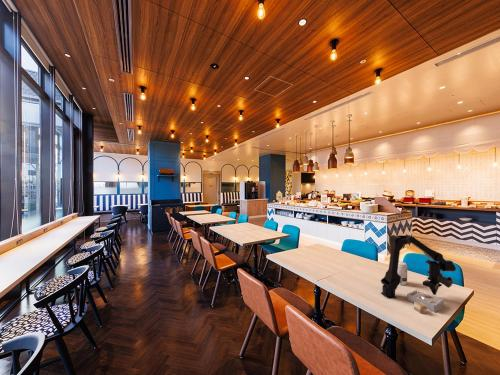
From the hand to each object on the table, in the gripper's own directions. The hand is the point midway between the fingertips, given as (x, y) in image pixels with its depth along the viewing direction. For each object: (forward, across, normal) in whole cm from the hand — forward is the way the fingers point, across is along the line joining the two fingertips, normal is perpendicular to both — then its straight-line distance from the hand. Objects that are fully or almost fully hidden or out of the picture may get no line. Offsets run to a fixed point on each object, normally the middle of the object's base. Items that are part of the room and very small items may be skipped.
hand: (434, 294), depth 133 cm
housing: (+2, -13, 0) cm, 13 cm away
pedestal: (+2, -25, -2) cm, 25 cm away
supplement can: (+2, +4, +21) cm, 22 cm away
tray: (+2, -12, 0) cm, 12 cm away
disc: (0, -12, 0) cm, 12 cm away
